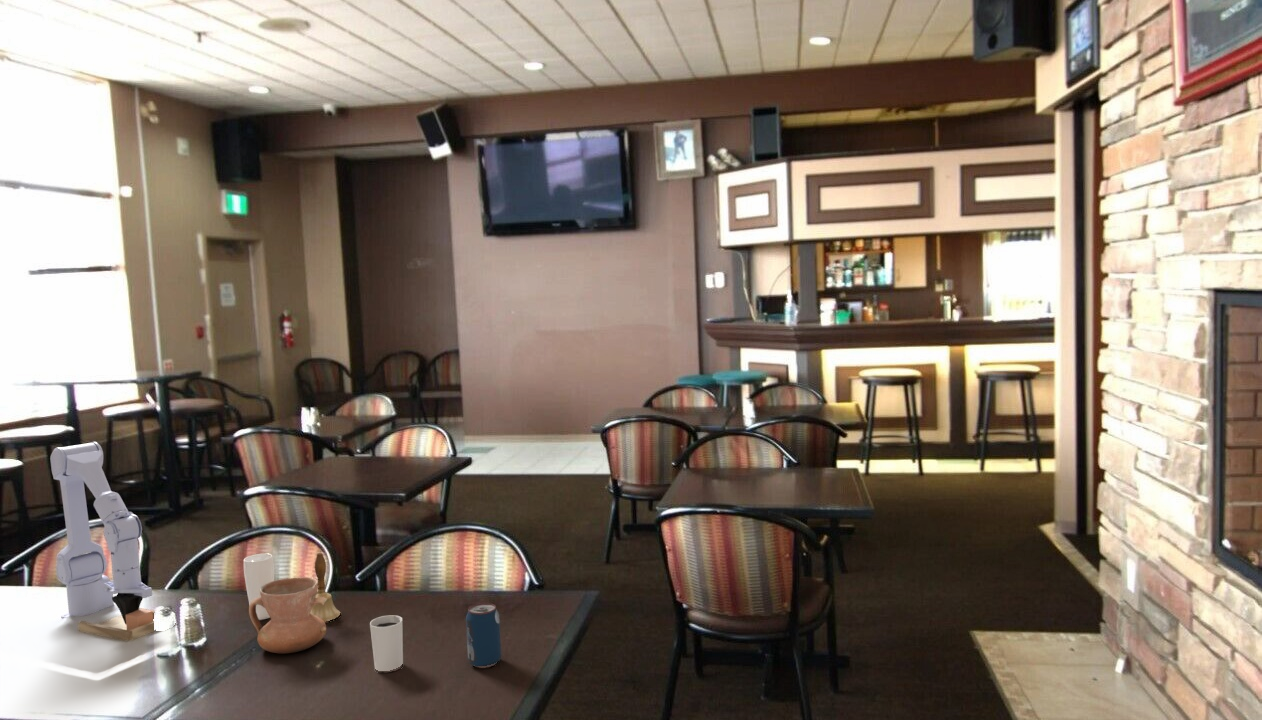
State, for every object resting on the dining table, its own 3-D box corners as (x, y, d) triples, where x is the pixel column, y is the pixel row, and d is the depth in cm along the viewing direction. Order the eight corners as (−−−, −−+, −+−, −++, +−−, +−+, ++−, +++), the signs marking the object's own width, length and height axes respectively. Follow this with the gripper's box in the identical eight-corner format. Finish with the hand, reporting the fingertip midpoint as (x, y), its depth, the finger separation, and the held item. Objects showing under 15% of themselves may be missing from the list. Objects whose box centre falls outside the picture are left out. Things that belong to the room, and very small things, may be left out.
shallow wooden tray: (126, 617, 220) (125, 605, 220) (175, 627, 212) (174, 614, 212) (79, 635, 209) (78, 622, 209) (129, 646, 202) (128, 632, 201)
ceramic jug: (343, 633, 205) (339, 574, 203) (313, 660, 190) (309, 596, 189) (270, 633, 207) (265, 574, 206) (235, 659, 192) (230, 595, 191)
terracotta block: (142, 625, 211) (141, 608, 211) (153, 627, 210) (152, 610, 209) (126, 631, 208) (125, 614, 207) (138, 633, 206) (136, 616, 206)
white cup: (376, 677, 181) (373, 629, 180) (369, 665, 187) (366, 619, 186) (408, 669, 184) (405, 623, 183) (401, 658, 190) (398, 613, 189)
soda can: (507, 658, 188) (504, 603, 187) (491, 671, 181) (488, 615, 180) (478, 654, 190) (475, 600, 189) (462, 668, 184) (459, 612, 183)
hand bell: (310, 612, 219) (306, 549, 218) (344, 610, 220) (340, 547, 219) (301, 625, 211) (296, 560, 210) (336, 622, 212) (332, 558, 210)
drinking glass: (266, 622, 213) (262, 562, 212) (241, 621, 215) (237, 561, 213) (282, 612, 220) (278, 553, 219) (258, 611, 221) (254, 552, 220)
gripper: (89, 569, 209) (94, 625, 210) (130, 576, 202) (135, 633, 203) (118, 560, 215) (122, 614, 216) (158, 566, 209) (162, 622, 210)
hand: (130, 623), depth 210 cm, fingers closed
